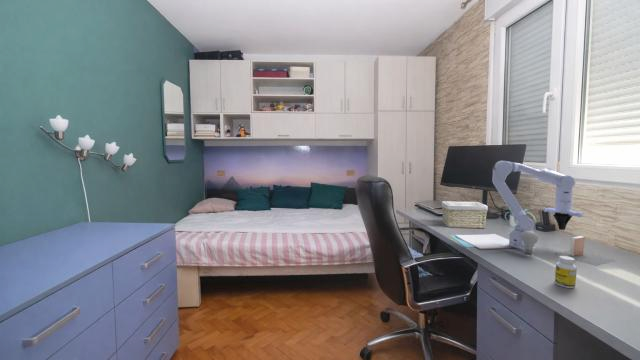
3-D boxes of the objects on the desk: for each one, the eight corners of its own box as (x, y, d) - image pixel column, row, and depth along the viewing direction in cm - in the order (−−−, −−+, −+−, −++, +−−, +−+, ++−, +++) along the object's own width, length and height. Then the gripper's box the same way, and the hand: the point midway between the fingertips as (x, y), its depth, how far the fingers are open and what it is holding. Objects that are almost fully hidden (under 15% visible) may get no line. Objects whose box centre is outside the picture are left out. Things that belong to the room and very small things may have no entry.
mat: (595, 267, 113) (595, 265, 113) (553, 254, 127) (553, 253, 127) (617, 261, 119) (618, 260, 119) (575, 250, 133) (575, 249, 133)
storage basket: (446, 227, 176) (447, 204, 175) (439, 221, 192) (440, 200, 191) (487, 229, 172) (489, 205, 171) (477, 223, 188) (478, 201, 187)
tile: (573, 256, 124) (575, 238, 123) (569, 255, 126) (570, 237, 125) (583, 254, 126) (584, 236, 126) (579, 253, 128) (580, 236, 127)
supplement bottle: (550, 281, 100) (552, 255, 99) (564, 281, 101) (566, 254, 100) (565, 289, 95) (567, 260, 94) (579, 288, 95) (582, 260, 94)
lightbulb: (533, 253, 130) (535, 229, 129) (539, 257, 124) (540, 233, 123) (518, 251, 132) (519, 228, 131) (522, 255, 126) (524, 231, 125)
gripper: (587, 202, 125) (586, 232, 126) (551, 198, 139) (550, 225, 140) (578, 203, 123) (576, 234, 124) (542, 199, 136) (540, 226, 137)
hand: (561, 229), depth 132 cm, fingers closed
